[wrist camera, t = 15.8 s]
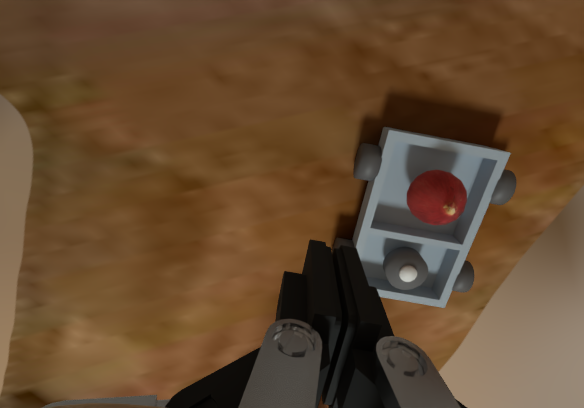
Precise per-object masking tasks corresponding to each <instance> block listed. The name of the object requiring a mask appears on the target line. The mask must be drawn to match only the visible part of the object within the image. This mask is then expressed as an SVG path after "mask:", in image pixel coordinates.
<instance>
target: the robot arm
mask: <svg viewBox="0 0 584 408" xmlns="http://www.w3.org/2000/svg"><path fill="white" fill-rule="evenodd" d="M321 394H322V401H323V404H327V405H329V408H467V407H465V406H464V405H462V404H461V403H460V402H459V401H457V400H456V399H455V398H454V396H453V395H452V393H451V391H450V390H449V388H448V387H447V385H446V384H445V382H444V380H443V379H442V377H441V376H440V374H439V372H438V371H437V369H436V368H435V366H434V365H433V363H432V361H431V360H430V358H429V357H428V356H427V355H426V353H425V352H424V351H423V350H422V349H420V348H419V347H418V346H417V345H415V344H414V343H412V342H410V341H408V340H406V339H403V338H400V337H395V336H394V334H393V331H392V329H391V326H390V323H389V321H388V318H387V315H386V312H385V310H384V307H383V304H382V302H381V299H380V296H379V294H378V291H377V289H376V287H373V286H369V284H368V281H367V278H366V275H365V272H364V269H363V266H362V263H361V260H360V257H359V254H358V251H357V249H356V248H355V247H349V246H344V245H340V247H339V249H338V248H334V250H333V253H331V248H330V247H327V246H326V243H325V242H321V241H315V240H310V241H309V245H308V250H307V254H306V259H305V263H304V268H303V272H302V274H299V273H293V272H287V271H284V274H283V279H282V284H281V289H280V294H279V300H278V306H277V313H276V321H275V323H273V324H272V325H270V327H269V328H268V330H267V332H266V335H265V337H264V340H263V343H262V345H261V347H260V348H258V349H256V350H254V351H252V352H250V353H249V354H247V355H245V356H243V357H241V358H239V359H238V360H236V361H234V362H232V363H230V364H228V365H227V366H225V367H223V368H221V369H219V370H217V371H216V372H214V373H212V374H210V375H208V376H206V377H204V378H203V379H201V380H199V381H197V382H195V383H193V384H192V385H190V386H188V387H186V388H184V389H182V390H181V391H180V392H178V393H177V394H176V395H174V396H173V397H172V398H171V399H170V400H157V395H147V396H131V397H114V398H98V399H81V400H65V401H60V402H56V403H51V404H49V405H47V406H45V407H43V408H318V404H319V401H320V397H321Z"/></svg>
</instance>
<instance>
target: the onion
mask: <svg viewBox="0 0 584 408" xmlns="http://www.w3.org/2000/svg"><path fill="white" fill-rule="evenodd" d="M466 203H467V191H466V189H465V187H464V185H463V183H462V181H461V180H460V179H458V178H457V177H456V176H454V175H453V174H452V173H450V172H446V171H442V170H430V171H426V172H424V173H422V174H421V175H419V176H417V177H416V178H415V179H414V181H413V182H412V183H411V184H410V186H409V189H408V191H407V205H408V207H409V209H410V211H411V213H412V214H413V215H414V216H415V217H417V218H418V219H419V220H421V221H422V222H424V223H428V224H431V225H446V224H448V223H450V222H453V221H455V220H457V219H458V217H459V216H460V215H461V214H462V213H463V212H464V210H465V206H466Z"/></svg>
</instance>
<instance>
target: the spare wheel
mask: <svg viewBox="0 0 584 408" xmlns="http://www.w3.org/2000/svg"><path fill="white" fill-rule="evenodd" d="M383 270H384V272H385V274H386V276H387V279H388V281H389V282H390V284H391V285H392V286H394V287H395V288H398V289H401V290H410V289H414V288H416V287H418V286H420V285H421V284H422V283H423V282H424V281H425V279H426V278H427V275H428V266H427V264H426V262H425V261H424V259H423V258H422V256H421V255H420V254H419V252H418V251H416V250H415V249H413V248H410V247H398V248H395V249H393V250H392V251H390V252H389V253H388V254H387V255H386V256H385V258H384V261H383Z"/></svg>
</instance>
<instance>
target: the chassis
mask: <svg viewBox="0 0 584 408" xmlns="http://www.w3.org/2000/svg"><path fill="white" fill-rule="evenodd" d="M509 156H510V153H509V152H506V151H503V150H499V149H495V148H491V147H488V146H483V145H478V144H473V143H467V142H462V141H457V140H452V139H446V138H441V137H436V136H431V135H425V134H420V133H415V132H410V131H404V130H399V129H394V128H389V127H383V130H382V134H381V138H380V141H379V145H378V146H377V145H372V144H366V143H362V144H361V145H360V147H359V149H358V152H357V155H356V159H355V164H354V178H357V179H362V180H368V185H367V188H366V192H365V196H364V199H363V203H362V206H361V210H360V214H359V217H358V221H357V225H356V228H355V232H354V235H353V239H352V240H348V239H343V238H336V240H335V242H334V245H333V250H334V248H338V249H339V247H340V245H344V246H349V247H355V248H356V249H357V251H358V254H359V257H360V260H361V263H362V266H363V269H364V272H365V275H366V278H367V281H368V284H369V286H373V287H376V289H377V291H378V294H379V296H380V297H385V298H390V299H396V300H402V301H408V302H413V303H419V304H425V305H430V306H436V307H442V308H445V306H446V303H447V301H448V299H449V296H450V294H451V292H452V290H453V291H458V292H467V291H469V290H470V288H471V287H472V285H473V281H474V270H473V267H472V265H471V263H470V262H468V261H465V259H466V256H467V254H468V252H469V249H470V247H471V245H472V242H473V240H474V238H475V235H476V233H477V231H478V228H479V226H480V224H481V221H482V219H483V217H484V214H485V212H486V210H487V207H488V205H489V203H492V204H497V205H502V204H505V203H506V202H508V201H509V200H510V199H511V197H512V196H513V194H514V191H515V188H516V177H515V175H514V173H513V172H512V171H509V170H504V168H505V165H506V163H507V161H508V158H509ZM430 170H442V171H446V172H450V173H452V174H453V175H454V176H456V177H457V178H458V179H460V180H461V181H462V183H463V185H464V187H465V189H466V191H467V203H466V206H465V210H464V212H463V213H462V214H461V215H460V216H459V217H458V219H457V220H455V221H453V222H450V223H448V224H446V225H431V224H428V223H424V222H422V221H421V220H419V219H418V218H417V217H415V216H414V215H413V214H412V213H411V211H410V209H409V207H408V205H407V191H408V189H409V186H410V184H411V183H412V182H413V181H414V179H415V178H416V177H417V176H419V175H421V174H422V173H424V172H426V171H430ZM398 247H410V248H413V249H415V250H416V251H418V252H419V254H420V255H421V256H422V258H423V259H424V261H425V262H426V264H427V266H428V275H427V278H426V279H425V281H424V282H423V283H422V284H421V285H420V286H418V287H416V288H414V289H410V290H401V289H398V288H395V287H394V286H392V285H391V284H390V282H389V281H388V279H387V276H386V274H385V272H384V270H383V261H384V258H385V256H386V255H387V254H388V253H389V252H390V251H392V250H393V249H395V248H398ZM333 250H332V253H333Z"/></svg>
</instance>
